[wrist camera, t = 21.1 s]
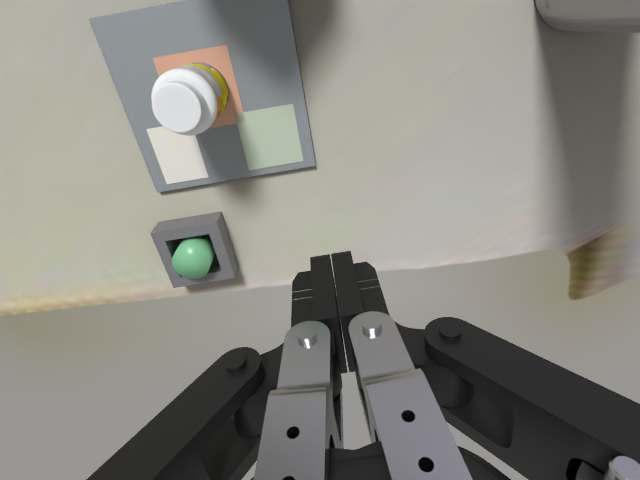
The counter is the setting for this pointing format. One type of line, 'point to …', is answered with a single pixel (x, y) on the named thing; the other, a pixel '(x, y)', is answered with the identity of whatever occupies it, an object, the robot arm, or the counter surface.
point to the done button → (194, 256)
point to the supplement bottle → (189, 98)
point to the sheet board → (240, 74)
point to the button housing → (191, 227)
